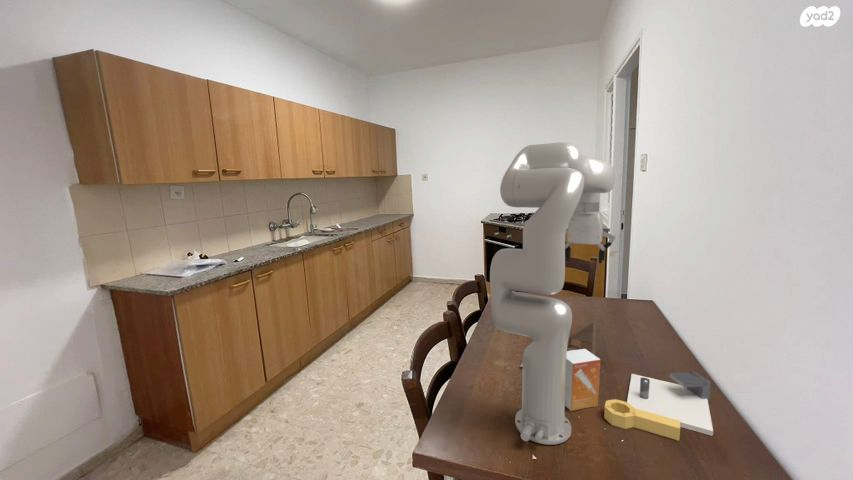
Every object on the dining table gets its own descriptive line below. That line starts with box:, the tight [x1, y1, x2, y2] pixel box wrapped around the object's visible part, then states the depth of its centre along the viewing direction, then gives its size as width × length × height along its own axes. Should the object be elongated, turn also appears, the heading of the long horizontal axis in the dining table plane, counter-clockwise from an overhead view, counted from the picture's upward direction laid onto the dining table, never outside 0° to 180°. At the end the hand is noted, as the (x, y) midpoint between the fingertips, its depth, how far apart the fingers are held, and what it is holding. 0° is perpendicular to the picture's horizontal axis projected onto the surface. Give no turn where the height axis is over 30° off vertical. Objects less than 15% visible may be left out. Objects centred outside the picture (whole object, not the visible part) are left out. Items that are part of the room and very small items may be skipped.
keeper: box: [669, 371, 712, 404], centre depth 93 cm, size 7×5×6 cm
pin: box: [639, 378, 650, 399], centre depth 92 cm, size 2×2×6 cm
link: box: [603, 399, 681, 441], centre depth 84 cm, size 15×6×3 cm, turn 57°
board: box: [626, 373, 714, 437], centre depth 92 cm, size 18×17×1 cm
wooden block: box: [564, 301, 598, 356], centre depth 114 cm, size 4×11×18 cm, turn 50°
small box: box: [565, 348, 601, 412], centre depth 92 cm, size 8×6×13 cm
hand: (584, 260), depth 116 cm, fingers open, 9 cm apart
